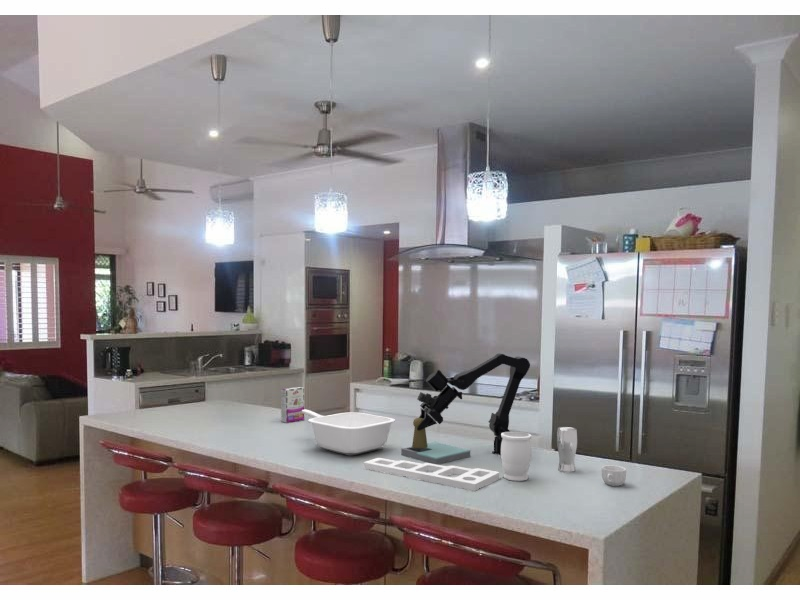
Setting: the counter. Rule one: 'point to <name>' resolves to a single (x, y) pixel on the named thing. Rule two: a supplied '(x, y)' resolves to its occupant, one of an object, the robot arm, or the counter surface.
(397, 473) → the holder
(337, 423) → the pot
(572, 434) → the beer glass
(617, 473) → the teacup
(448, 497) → the counter surface
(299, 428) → the counter surface
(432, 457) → the teal gray square board
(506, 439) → the jar
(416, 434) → the brown waisted cylinder
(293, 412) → the candy bar box
